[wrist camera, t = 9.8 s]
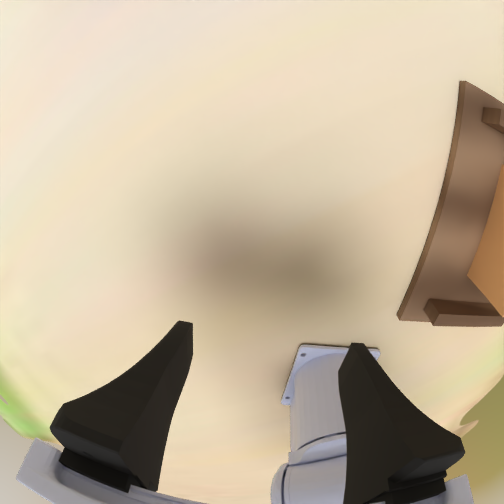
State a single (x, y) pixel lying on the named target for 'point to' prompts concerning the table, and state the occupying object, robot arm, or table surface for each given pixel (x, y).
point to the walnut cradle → (460, 220)
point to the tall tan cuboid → (492, 253)
